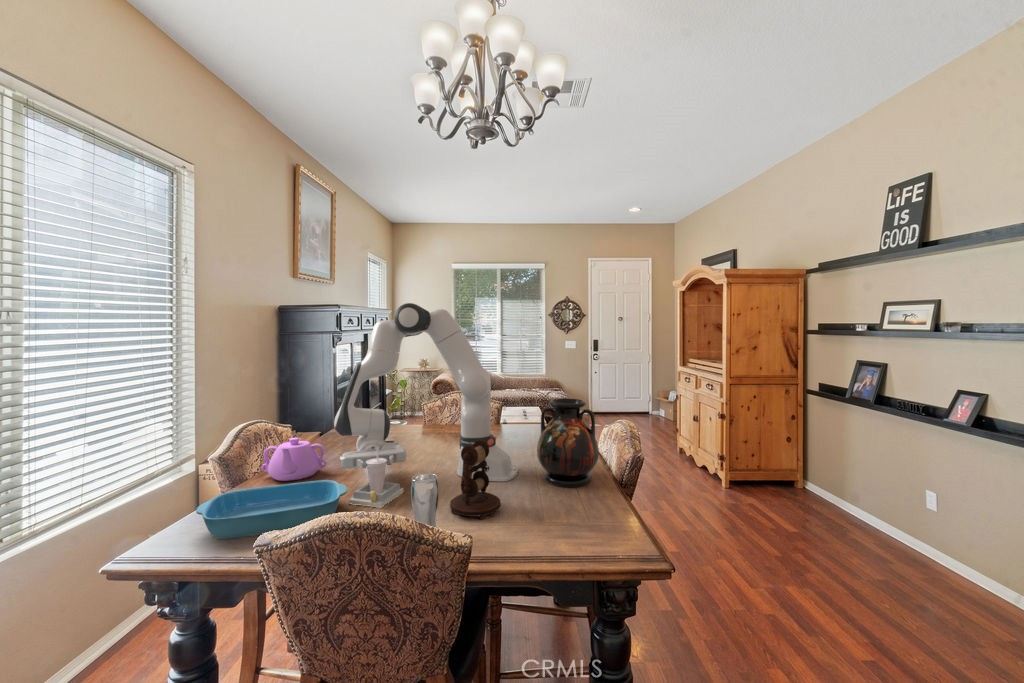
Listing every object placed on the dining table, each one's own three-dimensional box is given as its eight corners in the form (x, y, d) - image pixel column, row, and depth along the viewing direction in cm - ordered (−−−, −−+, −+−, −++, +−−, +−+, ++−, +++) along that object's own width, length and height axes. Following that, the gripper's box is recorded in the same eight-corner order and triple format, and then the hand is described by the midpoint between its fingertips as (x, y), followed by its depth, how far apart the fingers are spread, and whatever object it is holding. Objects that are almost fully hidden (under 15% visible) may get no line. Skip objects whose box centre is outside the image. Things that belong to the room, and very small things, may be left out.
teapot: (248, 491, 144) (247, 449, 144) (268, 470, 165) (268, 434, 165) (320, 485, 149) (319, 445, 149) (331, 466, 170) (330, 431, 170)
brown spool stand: (467, 497, 138) (466, 434, 137) (509, 505, 132) (508, 439, 131) (440, 515, 125) (439, 446, 124) (485, 525, 118) (484, 452, 118)
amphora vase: (530, 487, 147) (529, 404, 146) (544, 468, 167) (544, 395, 167) (594, 494, 140) (595, 407, 140) (601, 473, 161) (601, 397, 160)
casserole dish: (345, 496, 140) (344, 474, 140) (350, 524, 119) (349, 499, 119) (207, 517, 125) (206, 492, 125) (186, 553, 104) (185, 524, 104)
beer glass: (432, 542, 109) (432, 482, 108) (406, 540, 110) (406, 481, 110) (442, 530, 116) (442, 473, 115) (418, 527, 117) (417, 472, 117)
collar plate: (403, 492, 142) (403, 479, 142) (380, 508, 130) (380, 493, 129) (374, 489, 145) (373, 476, 145) (349, 504, 133) (348, 490, 133)
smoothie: (375, 496, 133) (375, 451, 132) (361, 492, 136) (361, 448, 136) (391, 490, 138) (391, 446, 138) (377, 486, 142) (377, 443, 141)
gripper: (339, 446, 145) (341, 458, 132) (401, 440, 153) (409, 450, 140) (339, 465, 145) (341, 478, 132) (402, 458, 153) (409, 470, 140)
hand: (376, 464), depth 136 cm, fingers closed on smoothie, 6 cm apart
